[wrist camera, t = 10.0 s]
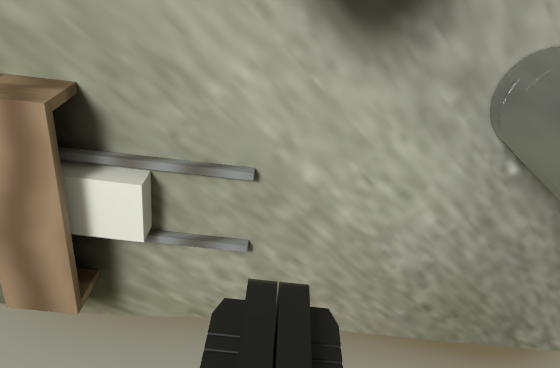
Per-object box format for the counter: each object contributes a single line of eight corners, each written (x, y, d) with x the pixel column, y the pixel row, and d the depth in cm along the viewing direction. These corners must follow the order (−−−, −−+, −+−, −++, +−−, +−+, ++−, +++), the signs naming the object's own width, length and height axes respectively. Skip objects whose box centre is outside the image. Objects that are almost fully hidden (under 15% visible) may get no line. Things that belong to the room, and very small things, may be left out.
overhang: (260, 103, 39) (255, 127, 34) (243, 292, 50) (238, 330, 45) (-7, 72, 38) (-50, 92, 34) (35, 270, 49) (6, 307, 44)
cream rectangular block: (151, 168, 43) (141, 185, 40) (153, 223, 46) (143, 242, 43) (25, 153, 43) (6, 169, 40) (35, 209, 46) (18, 227, 43)
